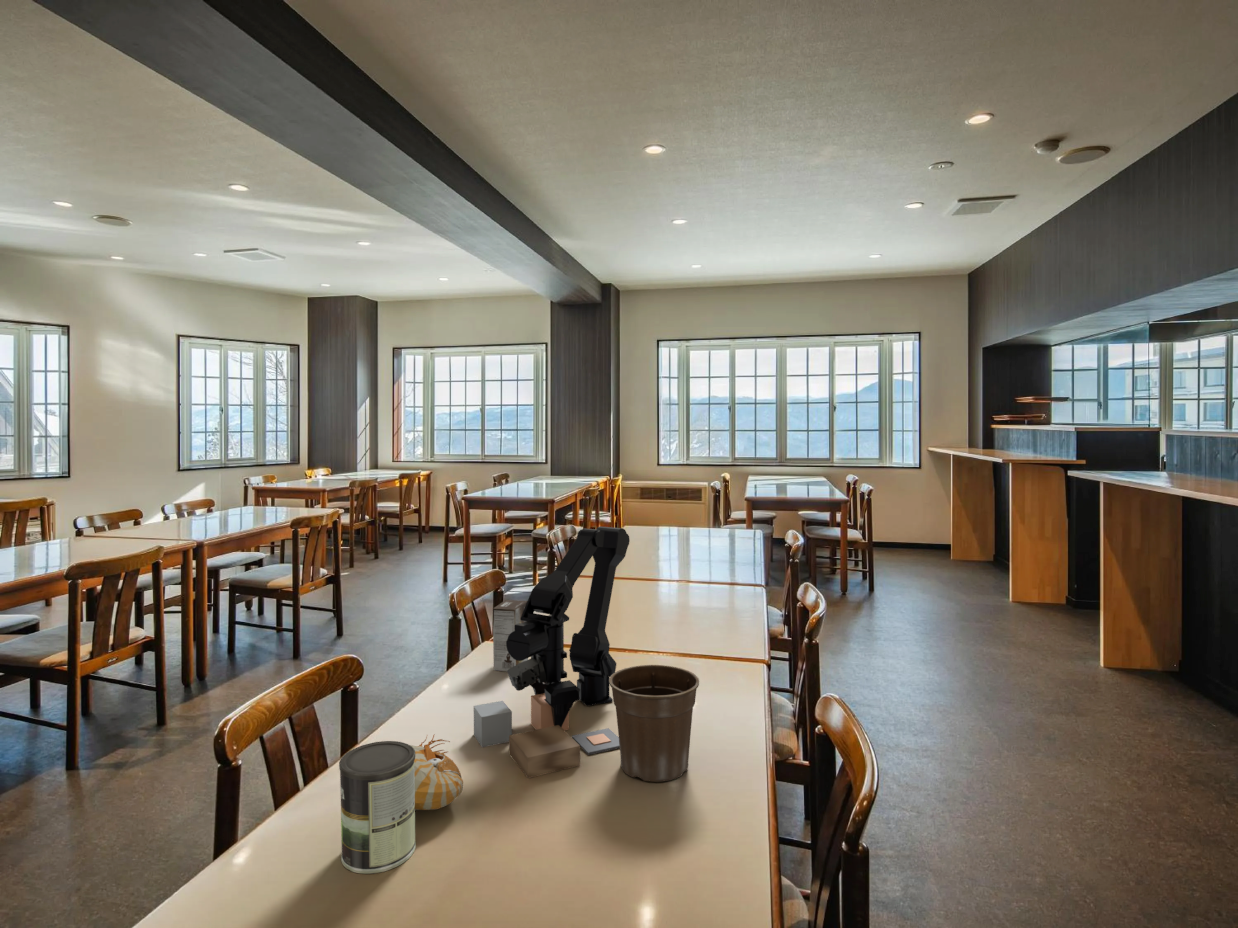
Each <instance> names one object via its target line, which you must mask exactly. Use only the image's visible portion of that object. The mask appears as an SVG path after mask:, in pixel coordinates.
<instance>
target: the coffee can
mask: <svg viewBox="0 0 1238 928" xmlns="http://www.w3.org/2000/svg"><path fill="white" fill-rule="evenodd" d="M410 745H411V744H409V743H405V742H402V741H395V740H382V741H375V742H369V743H365V744H363V745H360V746H357V747H354V748H353V749H351V750H349V751H348V752H346V753H345V754H344V755H342V757H341V758H340V760H339V762H338V763H339V765H338V767H339V769H338V770H339V777H340V779H339V780H340V781H339V782H340V787H339V788H340V827H341V831H340V832H341V836H340V838H341V855H340V861H341V863H342V866H344V868H345V869H347V870H348V871H350V872H352V873H355V874H360V875H361V874H362V875H371V874H378V873H384V872H388V871H391V870H392V869H394V868H397V867H399V866H401V865H403V863H405V862H407V861H408V860H409V859H410V858H411V857H412V856H413V854H414V853H415V850H416V848H417V845H416V844H417V843H416V842H417V841H416V812H415V811H416V810H415V776H414V760H415V750H414V748H413V747H412V746H410Z"/></svg>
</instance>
